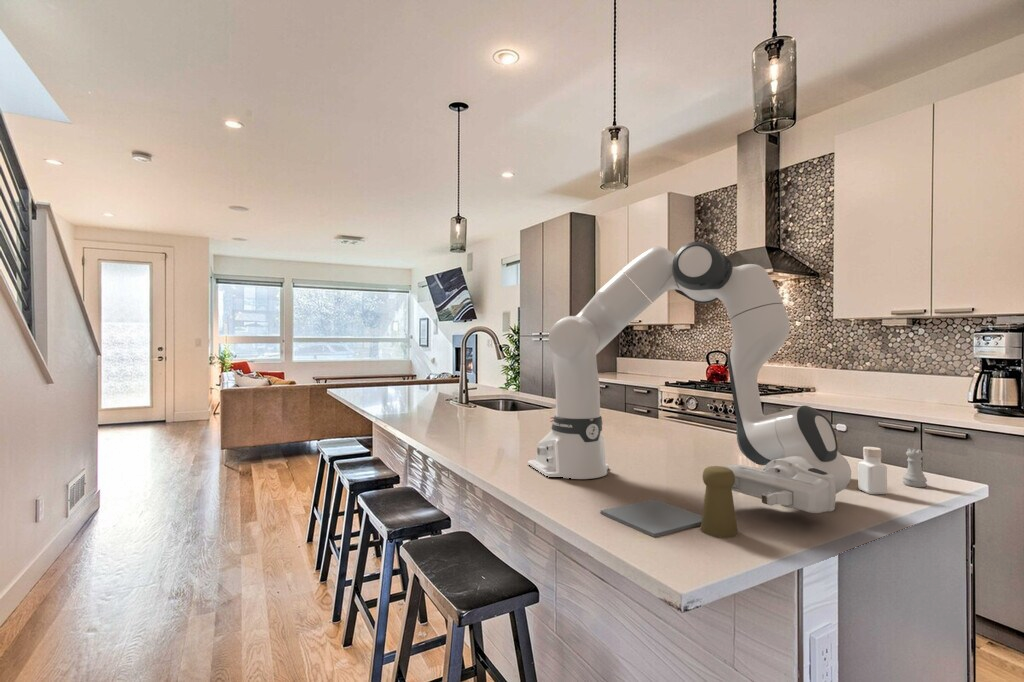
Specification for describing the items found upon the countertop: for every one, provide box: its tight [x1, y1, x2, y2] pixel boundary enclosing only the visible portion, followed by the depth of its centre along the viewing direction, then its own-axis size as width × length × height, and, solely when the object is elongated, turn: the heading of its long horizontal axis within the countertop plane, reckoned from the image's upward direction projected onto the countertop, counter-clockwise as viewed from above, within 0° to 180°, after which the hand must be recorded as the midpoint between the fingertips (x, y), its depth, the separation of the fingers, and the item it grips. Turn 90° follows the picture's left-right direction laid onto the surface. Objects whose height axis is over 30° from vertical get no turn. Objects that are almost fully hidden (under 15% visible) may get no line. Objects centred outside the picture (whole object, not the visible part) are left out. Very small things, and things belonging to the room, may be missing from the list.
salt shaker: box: [857, 446, 888, 495], centre depth 111 cm, size 4×4×10 cm
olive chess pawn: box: [700, 465, 739, 539], centre depth 89 cm, size 6×6×11 cm
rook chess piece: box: [902, 448, 928, 489], centre depth 116 cm, size 4×4×8 cm
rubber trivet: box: [600, 498, 702, 538], centre depth 96 cm, size 14×14×1 cm
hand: (740, 492), depth 91 cm, fingers open, 8 cm apart
